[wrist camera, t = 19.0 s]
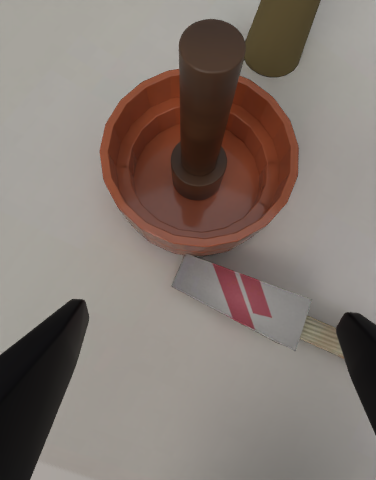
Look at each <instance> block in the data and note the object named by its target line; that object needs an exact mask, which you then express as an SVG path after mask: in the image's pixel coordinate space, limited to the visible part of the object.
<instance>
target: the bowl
mask: <svg viewBox="0 0 376 480" xmlns="http://www.w3.org/2000/svg"><path fill="white" fill-rule="evenodd" d="M180 141H181V139H180V82H179V69H175V70H169V71H166V72H163V73H161V74H159V75H157V76H154V77H152V78H150V79H148V80H145V81H143V82H142V83H140V84H139V85H138V86H136V87H135V88H134V89H133V90H132V91H131V92H129V93H128V94H127V95H126V96H125V97H124V98H122V99H121V101H120V102H119V103H118V105H117V106H116V108H115V110H114V111H113V113H112V115H111V116H110V118H109V120H108V121H107V123H106V124H105V129H104V134H103V138H102V143H101V147H100V158H101V165H102V172H103V180H104V182H105V184H106V186H107V188H108V190H109V192H110V194H111V196H112V197H113V199H114V201H115V203H116V205H117V207H118V208H119V209H120V211H121V212H122V213H123V215H124V216H125V217H126V219H127V220H128V221H129V223H130V224H131V225H132V226H133V227H134V228H135V229H136V230H137V231H138V232H139V233H140V234H141V235H143V236H144V237H145V238H146V239H147V240H148V241H149V242H150V243H152V244H155V245H157V246H159V247H161V248H163V249H165V250H168V251H170V252H172V253H175V254H182V255H185V254H189V255H192V256H199V257H201V256H207V255H213V254H218V253H223V252H227V251H229V250H231V249H233V248H235V247H237V246H238V245H240V244H242V243H244V242H245V241H247V240H249V239H250V238H252V237H253V236H254V235H255V234H257V233H258V232H259V231H260V230H262V229H263V228H264V227H265V226H267V225H268V224H269V222H270V221H271V220H272V219H273V218H274V217H275V216H276V215H277V213H278V212H279V211H280V210H281V209H282V208H283V207H284V206H285V204H286V203H287V202H288V199H289V197H290V194H291V192H292V189H293V187H294V184H295V182H296V179H297V177H298V154H299V147H298V143H297V140H296V137H295V134H294V131H293V128H292V125H291V121H290V119H289V118H288V117H287V115H286V114H285V113H284V111H283V110H282V108H281V107H280V106H279V104H278V103H277V102H276V100H275V99H274V98H273V97H272V96H271V95H270V94H268V93H267V92H266V91H264V90H263V89H262V88H260V87H259V86H258V85H256V84H255V83H254V82H252V81H251V80H249V79H247V78H244V77H241V76H239V79H238V83H237V87H236V91H235V95H234V99H233V103H232V106H231V110H230V114H229V118H228V122H227V126H226V130H225V133H224V137H223V141H222V145H221V146H222V147H223V149H224V151H225V153H226V156H227V167H226V170H225V173H224V176H223V179H222V182H221V185H220V187H219V189H218V191H217V192H216V193H215V194H214V195H213V196H211V197H209V198H207V199H204V200H190V199H187V198H185V197H183V196H182V195H181V194H179V193H178V191H177V190H176V189H175V187H174V185H173V181H172V171H171V154H172V151H173V149H174V148H175V146H176V145H177V144H178V143H179V142H180Z"/></svg>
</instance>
